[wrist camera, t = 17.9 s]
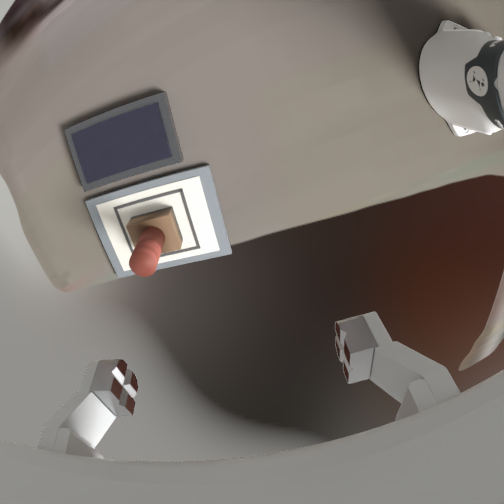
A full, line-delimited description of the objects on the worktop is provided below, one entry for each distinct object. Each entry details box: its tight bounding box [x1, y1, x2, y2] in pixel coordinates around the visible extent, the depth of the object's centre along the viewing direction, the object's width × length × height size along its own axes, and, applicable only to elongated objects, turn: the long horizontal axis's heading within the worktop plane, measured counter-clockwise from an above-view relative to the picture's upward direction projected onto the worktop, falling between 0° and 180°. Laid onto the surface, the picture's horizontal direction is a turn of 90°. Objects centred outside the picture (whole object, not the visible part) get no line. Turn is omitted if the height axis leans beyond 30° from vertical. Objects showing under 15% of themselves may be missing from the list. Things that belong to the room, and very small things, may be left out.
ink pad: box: [64, 92, 183, 192], centre depth 34 cm, size 14×9×2 cm, turn 101°
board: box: [85, 164, 232, 278], centre depth 41 cm, size 18×13×1 cm
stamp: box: [126, 206, 183, 277], centre depth 36 cm, size 6×5×9 cm
